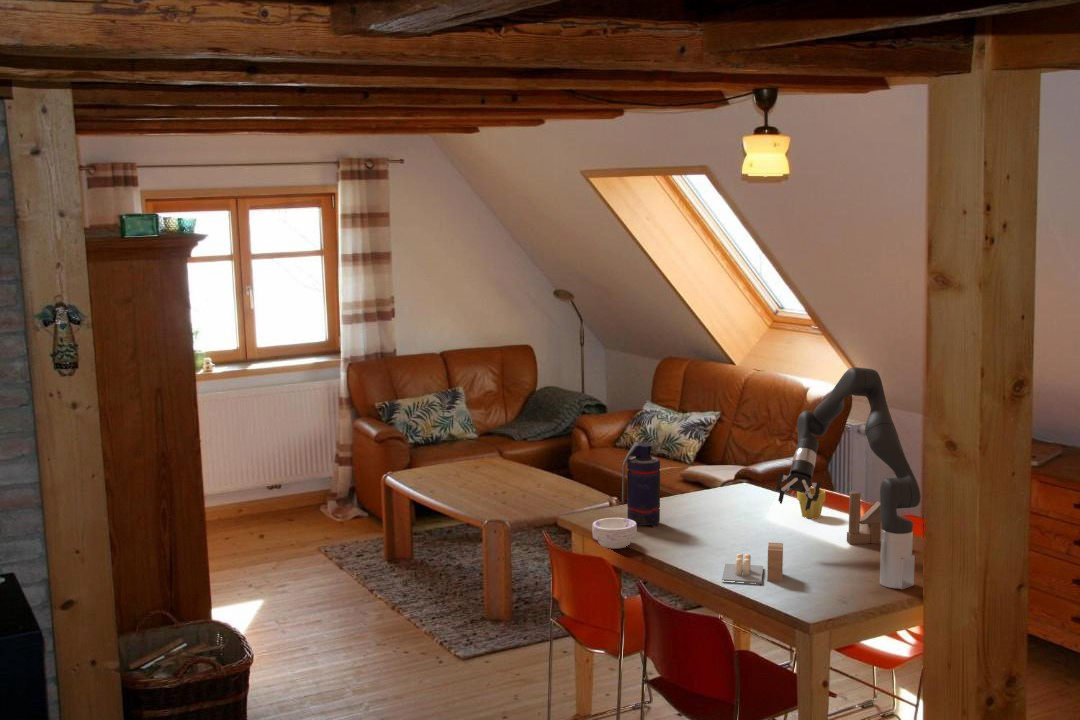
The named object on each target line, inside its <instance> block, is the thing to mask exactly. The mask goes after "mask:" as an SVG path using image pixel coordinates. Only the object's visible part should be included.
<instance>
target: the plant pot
mask: <svg viewBox="0 0 1080 720" xmlns="http://www.w3.org/2000/svg"><path fill="white" fill-rule="evenodd" d="M809 489H810V492H811V494H812V496H814V494H815V490H814V489H813V487H810V488H809ZM826 496H827V495H826V490H824V489H822V488H820V490H819V497H818V500H817V501H812V502H811V506H810V509H807V511H806V510H805V508H806V503H807V500H808V499H807V497H806V496H805V494H804V492H802V493H801V492H798V491H796V498H797V500H798V501H799V507H800V512H801V516H802V517H803V518H805V517H806V518H805V519H811V518H814V519H819V518H820V517H821V514H822V510H823V506H824V502H825V501H826Z"/></svg>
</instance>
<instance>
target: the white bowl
mask: <svg viewBox="0 0 1080 720" xmlns="http://www.w3.org/2000/svg"><path fill="white" fill-rule="evenodd" d="M591 526H592V527H591V528H592V538H593V539H594V540H596V541H597V542H598V544H599V545H600V546H601V547H603V548H606V549H612V550H613V549H614V550H615V549H616V550H617V549H618V550H619V549H623V548H624V549H625V548H627V547H629V546H630V544H631V542H632V541H634V540H636V538H637V535H638V533H637V530H638V529H637V527H638V526H637V524H636V522H635V521H633V520H630V519H627V518H624V517H606V518H600V519H597V520H595V521H593V523H592V525H591ZM628 545H629V546H628ZM626 546H627V547H626Z"/></svg>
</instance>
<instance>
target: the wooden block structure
mask: <svg viewBox="0 0 1080 720" xmlns="http://www.w3.org/2000/svg"><path fill="white" fill-rule="evenodd" d="M861 494H862V493H861V492H860V491H858V490H857V491H856V490H854V491H852V490H851V491H850V492H849V506H848V510H849V511H848V531H846V542H847V544H849V545H850V546H851V545H867V544H866V543H880V544H881V517H880V501H878V500H877V501H876V502H875V503H874V504H873V505H872V506H871V507H870V508H868V510H867V511H866V512H865V513H864V514H863V515H862V516H861V497H862V496H861ZM860 525H867V527H866V531H860V529H861V528H860V527H861V526H860Z"/></svg>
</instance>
